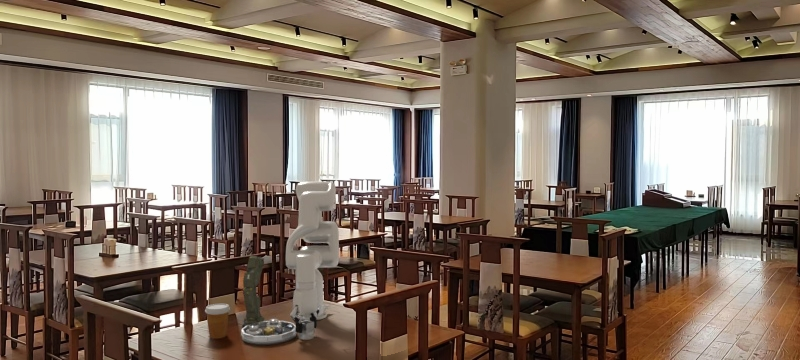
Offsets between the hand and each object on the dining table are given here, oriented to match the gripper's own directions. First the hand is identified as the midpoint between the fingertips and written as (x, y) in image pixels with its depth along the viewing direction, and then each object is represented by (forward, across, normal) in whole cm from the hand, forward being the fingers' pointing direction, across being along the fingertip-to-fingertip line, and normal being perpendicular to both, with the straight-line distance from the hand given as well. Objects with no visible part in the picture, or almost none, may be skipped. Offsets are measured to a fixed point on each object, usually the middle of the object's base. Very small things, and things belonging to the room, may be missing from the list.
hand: (306, 329), depth 231 cm
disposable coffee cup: (+3, +19, -30) cm, 36 cm away
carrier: (+3, +8, -13) cm, 15 cm away
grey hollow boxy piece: (+3, 0, 0) cm, 3 cm away
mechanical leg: (+3, 0, -31) cm, 31 cm away
